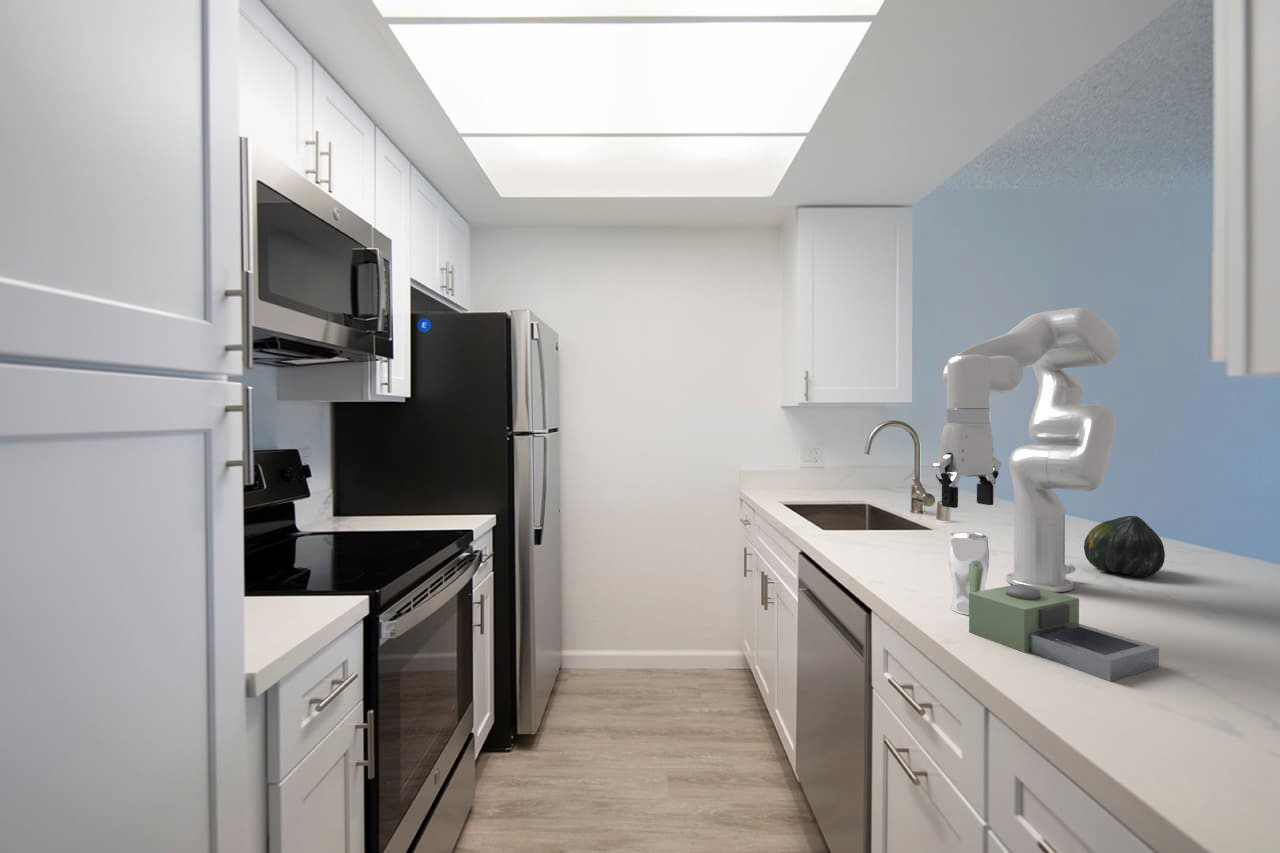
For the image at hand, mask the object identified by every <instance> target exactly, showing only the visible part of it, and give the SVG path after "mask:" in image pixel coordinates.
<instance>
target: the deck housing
mask: <svg viewBox="0 0 1280 853" xmlns="http://www.w3.org/2000/svg"><path fill="white" fill-rule="evenodd" d="M968 619H969V620H968V632H969V633H971V634H973V635H977V636H979V637H982V638H984V639H987V640H990V641H993V642H995V643H998V644H1001V645H1003V646H1006V647H1008V648H1012V649H1015V650H1017V651H1020V652H1023V653H1028V652H1029V651H1028V633H1031V632H1036V631H1040V630H1044V629H1049V628H1053V627H1058V626H1062V625H1066V624H1071V623H1079V624H1080V598H1079V597H1075V596H1071V595H1066V594H1064V593H1063V594H1062V593H1061V592H1052V591H1049V590H1045V589H1041V588H1037V587H1033V586H1029V585H1026V584H1017V585H1013V584H1010V585H1007V586H1000V587H996V588H990V589H984V590H983V591H977V592H972V593H969V615H968Z"/></svg>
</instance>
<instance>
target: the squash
mask: <svg viewBox="0 0 1280 853" xmlns="http://www.w3.org/2000/svg"><path fill="white" fill-rule="evenodd" d="M1083 542H1084V544H1083V550H1084V556H1085V557H1086V559H1087V561H1088V562H1089V563H1090V564H1091V565H1092V566H1093V567H1095V568H1096V569H1097V570H1100V571H1102V572H1114V573H1119V572H1120V573H1122V574H1126V575H1129V576H1132V577H1135V578H1144V577H1149V576H1153V575H1154V574H1156V573H1157V572H1159V571H1160V570H1161V569H1162V568H1163V566H1164V563H1165V557H1166V552H1165V546H1164V544H1163V541H1162V539H1161V537H1160V536H1159V535H1158V534H1157V532H1156V531H1155V530H1153V528H1152V527H1151V526H1149V525H1148V523H1147V522H1146V521H1144V520H1143V518H1141V517H1139V516H1138V515H1127V516H1126V515H1125V516H1121V517H1118V518H1114V519H1109V520H1106V521H1103V522H1100V523H1099V524H1096V525H1095V526H1094V527H1092V528H1091V530H1090V531H1089V532H1088V533H1087V536H1086V537H1085V538H1084V541H1083Z"/></svg>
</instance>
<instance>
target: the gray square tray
mask: <svg viewBox="0 0 1280 853" xmlns="http://www.w3.org/2000/svg"><path fill="white" fill-rule="evenodd" d="M1028 652H1029V653H1032V654H1035V655H1037V656H1040V657H1043V658H1045V659H1049V660H1051V661H1054V662H1057V663H1060V664H1062V665H1064V666H1068V667H1070V668H1072V669H1076V670H1078V671H1081V672H1084V673H1086V674H1089V675H1092V676H1094V677H1098V678H1099V679H1103V680H1106V681H1109V682H1112V681H1116V680H1120V679H1123V678H1125V677H1126V678H1127V677H1129V676H1133V675H1136V674H1139V673H1143V672H1146V671H1150V670H1153V669H1157V668H1159V666H1160V664H1159V662H1160V659H1159V658H1160V657H1159V656H1160V655H1159V654H1160V647H1158V646H1155V645H1152V644H1148V643H1145V642H1141V641H1139V640H1136V639H1131V638H1128V637H1125V636H1121V635H1118V634H1115V633H1111V632H1109V631H1105V630H1101V629H1098V628H1095V627H1092V626H1090V625H1089V626H1088V625H1085V624H1081V623H1080V622H1079V623H1071V624H1066V625H1062V626H1058V627H1053V628H1049V629H1044V630H1040V631H1036V632H1031V633H1028Z"/></svg>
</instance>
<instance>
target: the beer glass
mask: <svg viewBox="0 0 1280 853" xmlns="http://www.w3.org/2000/svg"><path fill="white" fill-rule="evenodd" d="M948 542H949V544H948V564H949V571H950V577H951V580H952V586H953V596H952V602H951V610H952V611H954V613H957V614H961V615H965V616H969V593H972V592H977V591H983V590H986V589H985V588H986V582H987V579H988V573H989V567H990V550H989V538H988V536H987V535H986V534H982V533H977V532H968V531H967V532H966V531H956V532H955V531H954V532H951V533H949V541H948Z"/></svg>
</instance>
